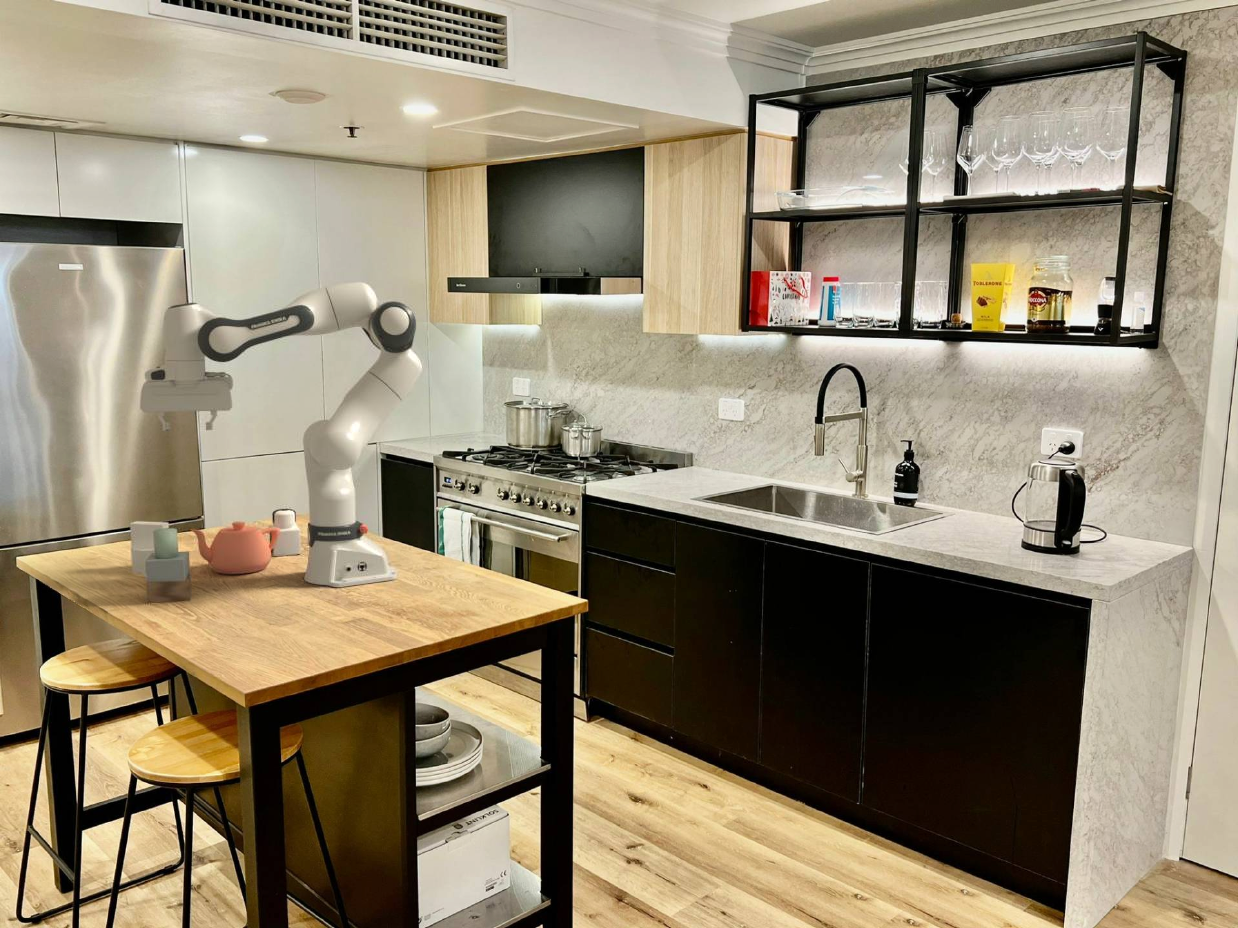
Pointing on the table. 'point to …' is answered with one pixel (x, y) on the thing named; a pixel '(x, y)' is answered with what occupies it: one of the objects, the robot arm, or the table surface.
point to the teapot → (238, 548)
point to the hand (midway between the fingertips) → (188, 430)
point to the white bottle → (286, 533)
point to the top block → (167, 568)
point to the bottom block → (169, 591)
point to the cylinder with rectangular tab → (143, 543)
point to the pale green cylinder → (165, 543)
